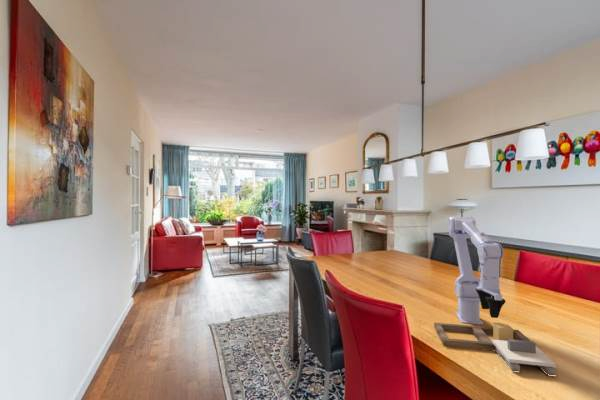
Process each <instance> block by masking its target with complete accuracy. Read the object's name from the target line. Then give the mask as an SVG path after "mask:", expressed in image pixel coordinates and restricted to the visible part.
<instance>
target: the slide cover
mask: <svg viewBox="0 0 600 400" xmlns="http://www.w3.org/2000/svg"><path fill="white" fill-rule="evenodd" d="M491 341H492V343H493V344H494V345H495V346H496V348H497V349H498V350H499V351H500V352H501V354H502V355H503V356H504V357H505V358H506V359H507V361H508V362H511V363H518V364H519V365H530V366H537V365H538V366H547V367H553V368H557V364H556V362H555V361H553V359H551V358H550V357H549V356H548V355H547V354H545V353H544V352H543V351H542V350H541V349H540V348H539V347H538V346H537V343H536V342H534V341H532V340H530V341H525V340H517V339H514V338H513V339H508V341H503V340H494V339H492V340H491ZM536 346H537V347H536ZM538 366H537V367H538Z"/></svg>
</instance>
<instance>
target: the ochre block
mask: <svg viewBox="0 0 600 400" xmlns="http://www.w3.org/2000/svg"><path fill="white" fill-rule="evenodd" d="M492 328H493V335H492V338H493V340H503V341H508V339H514V336H513V329H514V328H513V327H512V326H511V325H510V324H508V323H505V322H493V323H492Z"/></svg>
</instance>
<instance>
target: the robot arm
mask: <svg viewBox="0 0 600 400" xmlns="http://www.w3.org/2000/svg"><path fill="white" fill-rule="evenodd" d="M447 231H448V234H449V237H451V239H453V243H454V244H453V245H454V247H455V254H456V259H457V264H458V269H459V276H457V278H455V280H454V293H455V295H456V297H458V299H457V312H455V315H456V317H457V318H458V319H459V320H460V322H461V323H462V324H472V325H473V324H474V325H481V326H482V325H484V322H483V321H482V320H481V319H480V318H481V317H480V311H481V310H480V306H481V309H482V310H489V315H490V316H489V317H491V319H492V318H493V319H498V318H499V315H500V312H501V309H502V308H503V306H504V305H505V304H506V299H504V298H503V295H502V293H501V289H500V260H502V258H503V256H504V248H503V246H502V245H501V243H499V242H493V240H492V239H490V238H489V236H488V235H487V234H486V233H485V232H484V231H479V229H478V228H477V224H476V219H475V218H474V217H473V216H449V218H448V220H447ZM468 238H470V241H471V243H472V244H473V246H475V248H476V250H477V255H478V261H479V263H480V278H479V277H477V276H476V275H475V274H474V270H473V265H472V261H471V256H470V252H469V246H468V242H467V239H468Z"/></svg>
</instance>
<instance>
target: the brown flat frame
mask: <svg viewBox="0 0 600 400" xmlns="http://www.w3.org/2000/svg"><path fill="white" fill-rule="evenodd" d="M433 324H434V330H435V332H436V334H437V335H438V337H439V341H441V344H442V346H443V345H446V347H453V346H458V347H457V348H463V347H468V348H467V349H472V348H476V349H475V350H482V349H485V350H486V351H492V350H495V351H494V352H495V353H496V352H497V353H498V354H499V355H500V356H501V357H502V359H503V360H504V361H505V362H506V364H507V365H508V366H509V367H510V368H511V370H512V371H519V372H520V373H521V366H520V363H511V362H508V361H507V359H506V358H505V357H504V356H503V355H502V354H501V352H500V351H499V350H498V349H497V348H496V346H495V345H494V344H493V343H492V340H491V338H490V337H489V335H492V336H493V327H488V326H477V325H468V324H467V325H466V324H455V323H444V322H443V323H442V322H434V323H433ZM445 331H451V332H461V333H470V332H471V333H472V335H473V336H474V337H475V339H476V338H477V339H476V340H471V339H470V340H468V339H457V338H449V336H448V335H447V333H446V332H445ZM471 333H470V334H471ZM513 338H515V340H525V341H531V339H529V338H528V337H527V336H526V335H525V334H524V333H523V332H521V331H520V330H519V329H514V328H513ZM536 347H538V346H537V345H536ZM485 350H484V351H485ZM497 353H496V354H497ZM498 354H497V355H498ZM499 355H498V356H499ZM500 356H499V357H500ZM502 359H501V360H502ZM503 360H502V361H503ZM504 361H503V362H504ZM505 362H504V363H505ZM506 364H505V365H506ZM507 365H506V366H507ZM508 366H507V367H508ZM509 367H508V368H509ZM539 367H540V368H542V369H543V370H544V371H545V372H546V373H547V374H549V375H556V376H557V370H556V368H555V367H547V366H539ZM539 367H538V368H539ZM540 368H539V369H540ZM511 370H510V371H511ZM512 371H511V372H512Z"/></svg>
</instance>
